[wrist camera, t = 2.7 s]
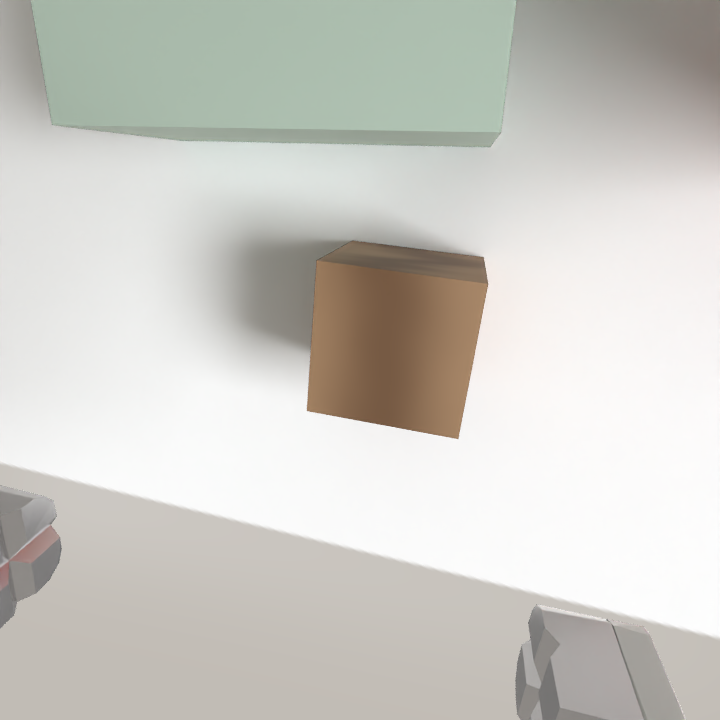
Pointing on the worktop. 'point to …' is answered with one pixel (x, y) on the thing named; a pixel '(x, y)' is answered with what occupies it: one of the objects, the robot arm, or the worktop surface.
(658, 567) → the worktop surface
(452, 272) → the walnut block
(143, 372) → the worktop surface
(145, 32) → the sage box
